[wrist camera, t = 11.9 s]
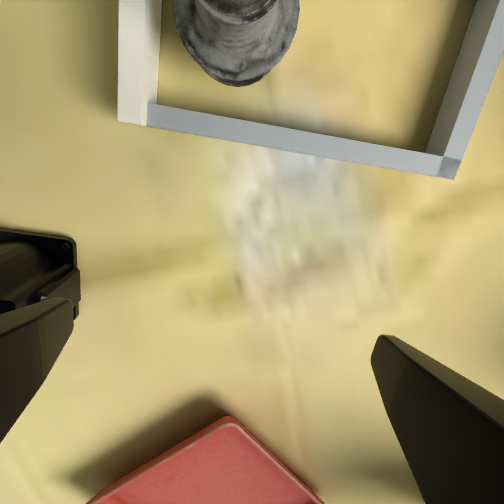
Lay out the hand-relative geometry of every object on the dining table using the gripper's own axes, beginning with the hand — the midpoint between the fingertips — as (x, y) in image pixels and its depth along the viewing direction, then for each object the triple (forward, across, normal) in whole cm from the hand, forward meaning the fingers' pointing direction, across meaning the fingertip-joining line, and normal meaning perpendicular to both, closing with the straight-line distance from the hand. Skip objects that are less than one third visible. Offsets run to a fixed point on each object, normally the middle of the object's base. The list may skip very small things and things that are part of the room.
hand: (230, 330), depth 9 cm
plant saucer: (+14, -2, +28) cm, 31 cm away
